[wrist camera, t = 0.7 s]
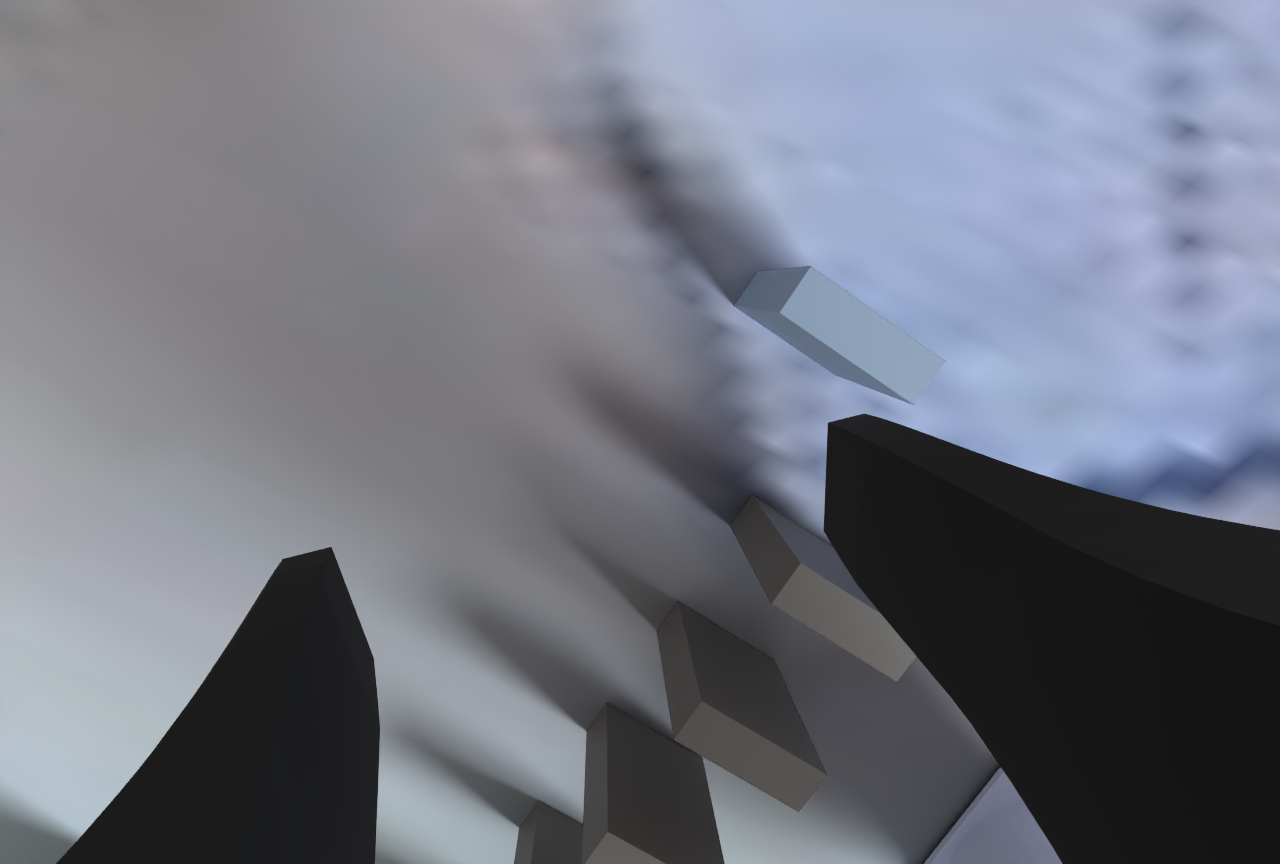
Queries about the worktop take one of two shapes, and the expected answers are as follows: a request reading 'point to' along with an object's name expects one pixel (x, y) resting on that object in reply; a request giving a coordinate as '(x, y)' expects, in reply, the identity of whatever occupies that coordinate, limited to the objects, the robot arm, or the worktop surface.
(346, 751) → the robot arm
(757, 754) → the domino
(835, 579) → the domino
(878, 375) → the domino
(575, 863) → the domino
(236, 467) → the worktop surface
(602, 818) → the domino
